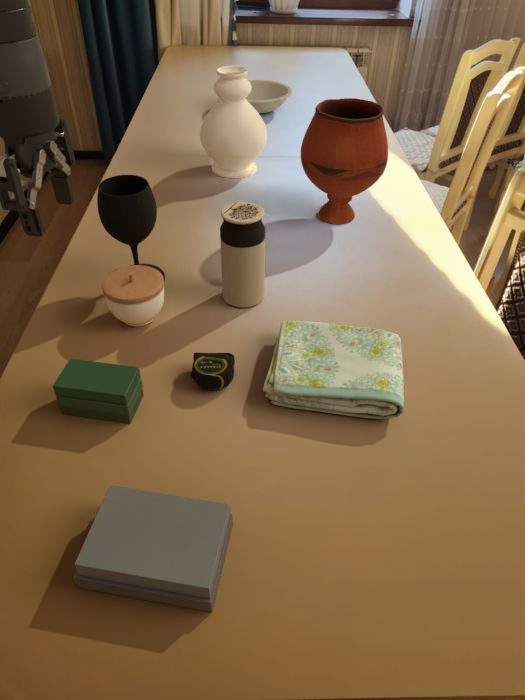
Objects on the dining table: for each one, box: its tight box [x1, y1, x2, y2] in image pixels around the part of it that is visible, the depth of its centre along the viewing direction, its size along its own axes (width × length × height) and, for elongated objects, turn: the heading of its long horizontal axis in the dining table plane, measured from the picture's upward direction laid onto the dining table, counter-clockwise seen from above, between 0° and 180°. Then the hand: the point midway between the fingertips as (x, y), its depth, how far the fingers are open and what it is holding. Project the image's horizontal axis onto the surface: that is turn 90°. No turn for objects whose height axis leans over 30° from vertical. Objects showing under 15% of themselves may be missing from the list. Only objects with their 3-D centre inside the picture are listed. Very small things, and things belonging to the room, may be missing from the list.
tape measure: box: [190, 352, 236, 391], centre depth 86 cm, size 7×7×4 cm
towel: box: [262, 319, 405, 420], centre depth 87 cm, size 18×21×5 cm
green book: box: [52, 358, 142, 405], centre depth 80 cm, size 11×6×2 cm, turn 80°
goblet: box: [300, 97, 389, 225], centre depth 121 cm, size 19×19×25 cm
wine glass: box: [96, 174, 166, 281], centre depth 102 cm, size 10×10×20 cm
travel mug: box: [219, 201, 266, 308], centre depth 99 cm, size 8×8×18 cm
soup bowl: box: [245, 79, 293, 114], centre depth 183 cm, size 24×24×7 cm
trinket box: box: [101, 264, 165, 327], centre depth 97 cm, size 11×11×9 cm
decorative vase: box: [199, 65, 268, 179], centre depth 141 cm, size 18×18×25 cm
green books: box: [55, 377, 145, 425], centre depth 82 cm, size 11×6×4 cm, turn 80°
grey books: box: [72, 484, 234, 613], centre depth 64 cm, size 16×11×5 cm
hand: (51, 218), depth 70 cm, fingers open, 8 cm apart
